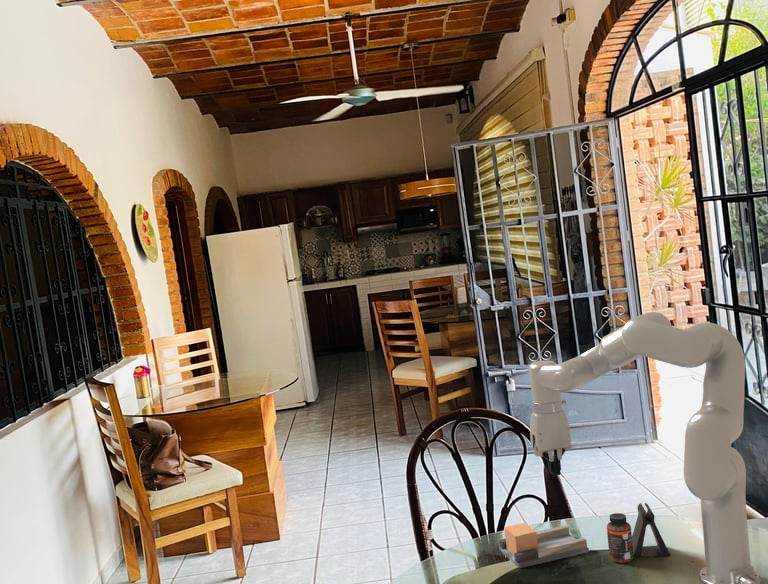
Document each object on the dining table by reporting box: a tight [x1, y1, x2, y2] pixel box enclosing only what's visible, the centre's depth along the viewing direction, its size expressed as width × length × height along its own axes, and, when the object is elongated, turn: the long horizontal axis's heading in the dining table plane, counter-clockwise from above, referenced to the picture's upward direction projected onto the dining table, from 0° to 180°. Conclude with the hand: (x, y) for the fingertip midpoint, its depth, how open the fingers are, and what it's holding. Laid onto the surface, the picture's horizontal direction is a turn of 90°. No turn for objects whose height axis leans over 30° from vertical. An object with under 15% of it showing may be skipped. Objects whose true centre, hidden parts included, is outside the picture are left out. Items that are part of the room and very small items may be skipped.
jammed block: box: [504, 522, 538, 555], centre depth 196 cm, size 7×6×6 cm
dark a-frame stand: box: [632, 502, 671, 559], centre depth 189 cm, size 9×6×12 cm, turn 82°
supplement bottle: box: [606, 512, 635, 564], centre depth 187 cm, size 6×6×11 cm
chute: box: [498, 524, 590, 569], centre depth 198 cm, size 13×20×3 cm, turn 104°
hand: (555, 474), depth 198 cm, fingers closed
